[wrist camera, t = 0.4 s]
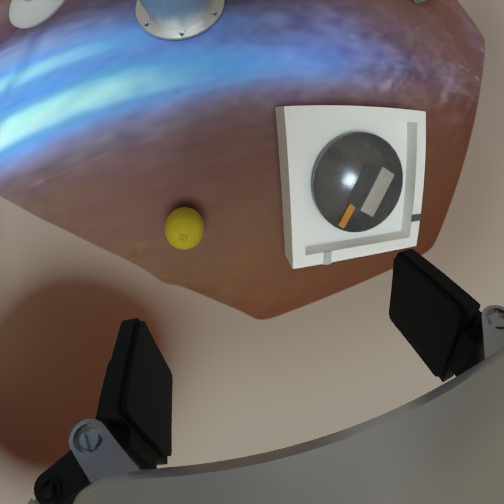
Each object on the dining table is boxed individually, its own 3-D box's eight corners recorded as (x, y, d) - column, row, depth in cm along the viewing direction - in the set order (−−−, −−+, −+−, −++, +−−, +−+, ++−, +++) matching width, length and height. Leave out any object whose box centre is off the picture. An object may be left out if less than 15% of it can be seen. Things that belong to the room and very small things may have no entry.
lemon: (209, 207, 44) (210, 227, 37) (195, 239, 46) (195, 264, 39) (174, 195, 42) (169, 212, 35) (162, 228, 44) (156, 250, 37)
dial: (339, 112, 38) (359, 113, 33) (411, 161, 43) (433, 170, 38) (293, 206, 44) (306, 221, 38) (369, 241, 49) (387, 257, 43)
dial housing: (275, 107, 39) (284, 106, 34) (408, 109, 41) (427, 111, 37) (284, 255, 50) (293, 270, 45) (402, 235, 52) (417, 246, 48)
